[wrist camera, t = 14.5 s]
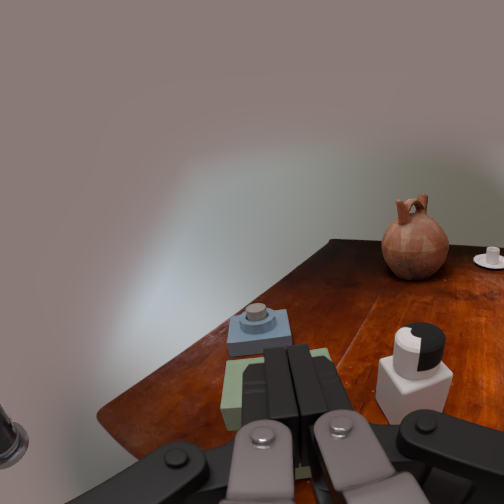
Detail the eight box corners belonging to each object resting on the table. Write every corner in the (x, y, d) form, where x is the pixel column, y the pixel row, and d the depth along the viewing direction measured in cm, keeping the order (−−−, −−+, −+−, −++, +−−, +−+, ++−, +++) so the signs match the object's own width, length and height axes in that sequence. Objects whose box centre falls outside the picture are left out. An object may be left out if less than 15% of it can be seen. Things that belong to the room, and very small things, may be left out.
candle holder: (471, 256, 75) (472, 242, 73) (505, 256, 68) (506, 242, 67) (476, 270, 65) (477, 254, 64) (514, 271, 59) (515, 255, 57)
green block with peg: (245, 484, 26) (214, 391, 22) (247, 440, 33) (222, 344, 29) (338, 472, 26) (343, 374, 22) (327, 429, 32) (326, 330, 28)
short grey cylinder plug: (247, 323, 54) (245, 313, 53) (247, 314, 57) (245, 304, 56) (267, 321, 53) (266, 310, 53) (266, 311, 57) (265, 301, 56)
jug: (425, 292, 61) (427, 203, 56) (368, 275, 76) (363, 198, 71) (457, 268, 69) (458, 193, 64) (406, 256, 84) (403, 189, 79)
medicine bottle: (418, 383, 36) (430, 310, 33) (442, 414, 29) (462, 338, 26) (374, 398, 36) (380, 324, 33) (394, 434, 29) (408, 357, 26)
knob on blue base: (229, 357, 52) (224, 333, 51) (233, 329, 62) (229, 307, 60) (292, 349, 51) (290, 325, 50) (287, 322, 61) (285, 300, 60)
